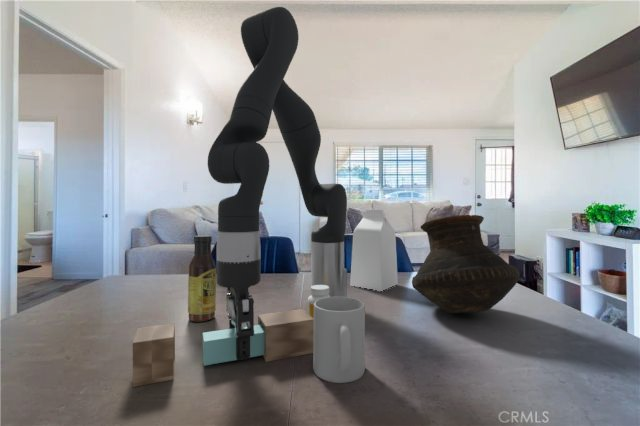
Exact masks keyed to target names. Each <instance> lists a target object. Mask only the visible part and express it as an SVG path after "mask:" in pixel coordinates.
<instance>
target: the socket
mask: <svg viewBox="0 0 640 426" xmlns="http://www.w3.org/2000/svg"><path fill="white" fill-rule="evenodd" d="M175 325H176V324H175V323H166V324H159V325H150V326H142V327H138V328H137V331H136V333H135V335H134V338H133V341H132V388H134V387H140V386H146V385H150V384H157V383H161V382H166V381H172V380H174V378H175V364H176V363H175V362H176V357H175V356H176V343H175V342H176V340H175V337H176V334H175V333H176V332H175V331H176V330H175V329H176V327H175Z"/></svg>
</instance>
